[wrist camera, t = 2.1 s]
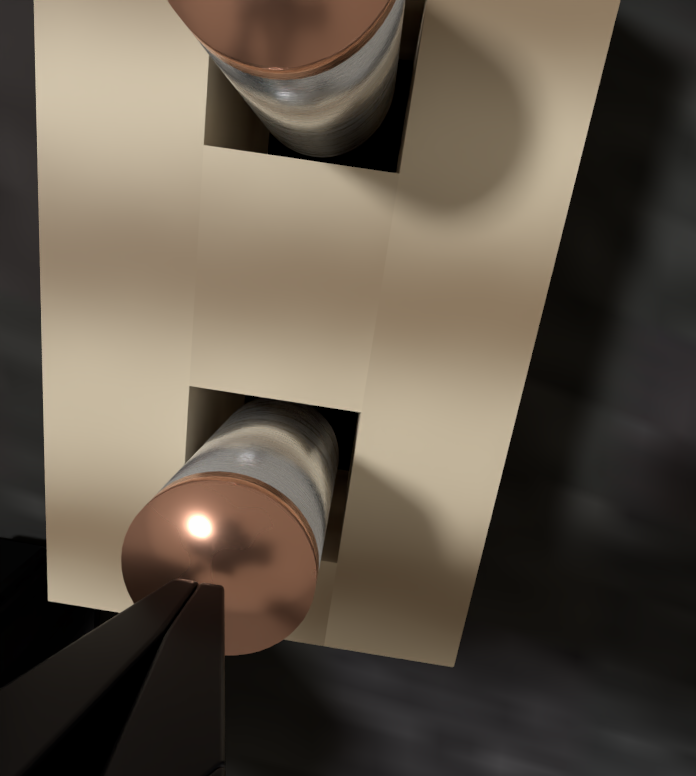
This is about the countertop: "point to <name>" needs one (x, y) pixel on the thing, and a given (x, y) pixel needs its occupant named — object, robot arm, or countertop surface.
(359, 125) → the steel peg
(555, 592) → the countertop surface
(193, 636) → the robot arm
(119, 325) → the birch block
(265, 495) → the steel peg
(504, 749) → the countertop surface
